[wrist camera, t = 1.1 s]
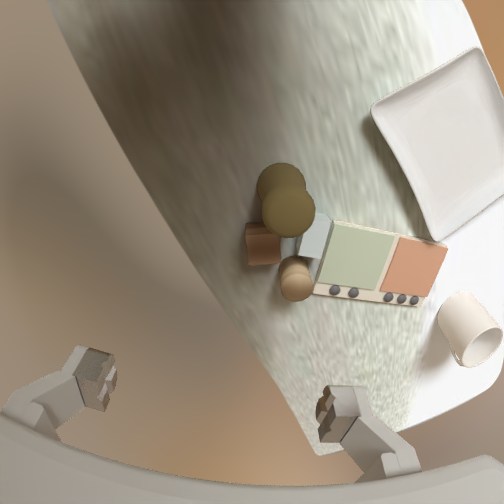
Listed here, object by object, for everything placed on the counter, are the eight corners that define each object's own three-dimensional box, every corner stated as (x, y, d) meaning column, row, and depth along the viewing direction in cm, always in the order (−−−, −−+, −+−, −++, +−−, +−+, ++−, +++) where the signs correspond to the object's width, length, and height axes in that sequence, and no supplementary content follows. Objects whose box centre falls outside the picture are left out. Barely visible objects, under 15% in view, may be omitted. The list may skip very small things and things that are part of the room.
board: (332, 219, 40) (335, 223, 39) (444, 244, 41) (448, 247, 40) (312, 290, 45) (313, 294, 44) (418, 303, 46) (421, 308, 45)
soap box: (304, 209, 40) (307, 218, 37) (326, 214, 40) (331, 222, 37) (295, 244, 42) (298, 255, 39) (317, 248, 42) (320, 258, 39)
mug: (426, 344, 50) (447, 385, 41) (442, 291, 45) (472, 331, 35) (460, 337, 50) (484, 374, 40) (478, 286, 45) (510, 322, 35)
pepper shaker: (281, 152, 36) (290, 171, 26) (315, 186, 38) (335, 216, 28) (246, 187, 38) (242, 218, 28) (281, 219, 40) (289, 259, 30)
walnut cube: (246, 223, 41) (245, 235, 37) (277, 220, 40) (279, 233, 37) (249, 251, 42) (248, 265, 39) (279, 248, 42) (281, 263, 39)
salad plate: (357, 107, 34) (366, 107, 31) (467, 45, 28) (481, 43, 25) (425, 237, 41) (435, 247, 38) (515, 169, 35) (528, 174, 32)
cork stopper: (282, 253, 42) (285, 272, 38) (310, 258, 43) (316, 277, 38) (276, 278, 44) (278, 299, 40) (303, 282, 44) (308, 303, 40)
